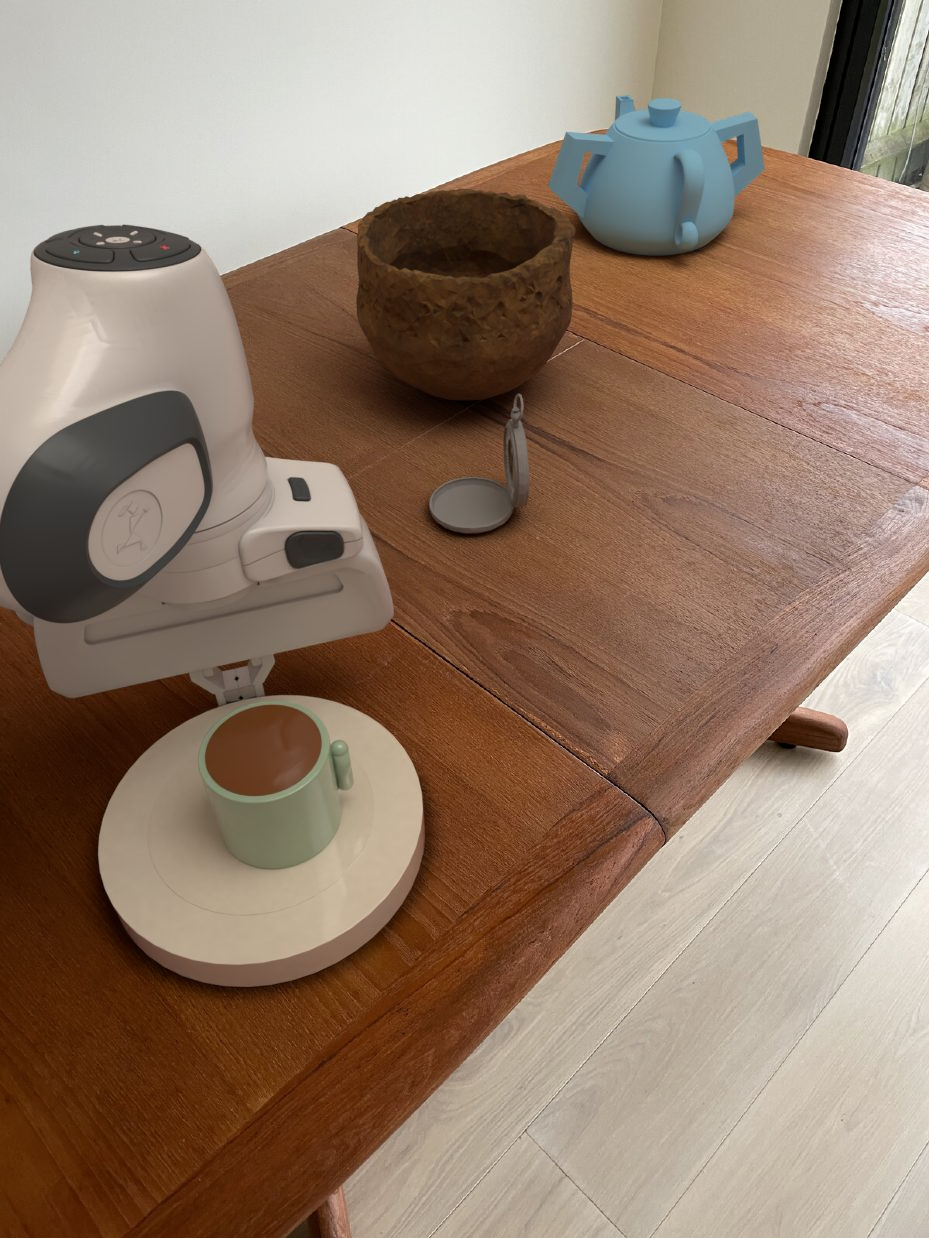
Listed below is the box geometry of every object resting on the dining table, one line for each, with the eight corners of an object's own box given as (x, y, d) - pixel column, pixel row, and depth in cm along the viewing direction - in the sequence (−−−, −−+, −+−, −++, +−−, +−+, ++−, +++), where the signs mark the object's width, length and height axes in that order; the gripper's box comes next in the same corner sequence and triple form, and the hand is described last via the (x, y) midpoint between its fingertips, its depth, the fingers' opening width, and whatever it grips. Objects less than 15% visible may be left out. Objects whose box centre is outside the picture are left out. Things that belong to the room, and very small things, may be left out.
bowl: (609, 373, 95) (622, 214, 85) (484, 466, 85) (481, 298, 74) (455, 317, 104) (449, 166, 93) (324, 394, 93) (302, 235, 83)
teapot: (759, 217, 119) (780, 90, 110) (688, 281, 108) (705, 146, 99) (614, 187, 128) (622, 66, 118) (535, 243, 116) (536, 115, 107)
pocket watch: (413, 509, 81) (404, 400, 74) (492, 468, 84) (491, 360, 77) (479, 559, 76) (477, 447, 69) (561, 513, 80) (566, 402, 73)
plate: (114, 1029, 51) (100, 1006, 49) (105, 756, 63) (94, 731, 61) (461, 934, 54) (460, 910, 52) (387, 693, 66) (384, 667, 65)
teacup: (226, 883, 54) (203, 815, 49) (214, 784, 58) (191, 714, 54) (369, 847, 55) (358, 779, 51) (345, 753, 60) (333, 683, 56)
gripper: (-9, 605, 51) (73, 775, 60) (390, 525, 54) (407, 696, 64) (-4, 529, 55) (72, 699, 65) (365, 460, 59) (385, 629, 68)
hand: (241, 697), depth 64 cm, fingers closed, pressing on plate
